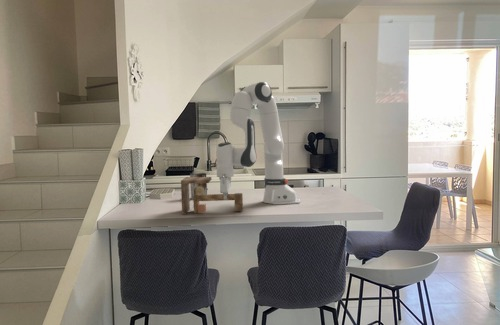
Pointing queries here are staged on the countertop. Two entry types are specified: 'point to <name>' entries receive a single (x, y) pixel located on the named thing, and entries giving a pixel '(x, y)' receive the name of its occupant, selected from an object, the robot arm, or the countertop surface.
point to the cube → (201, 208)
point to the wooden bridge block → (219, 199)
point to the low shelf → (185, 190)
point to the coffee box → (198, 185)
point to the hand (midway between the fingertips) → (225, 198)
